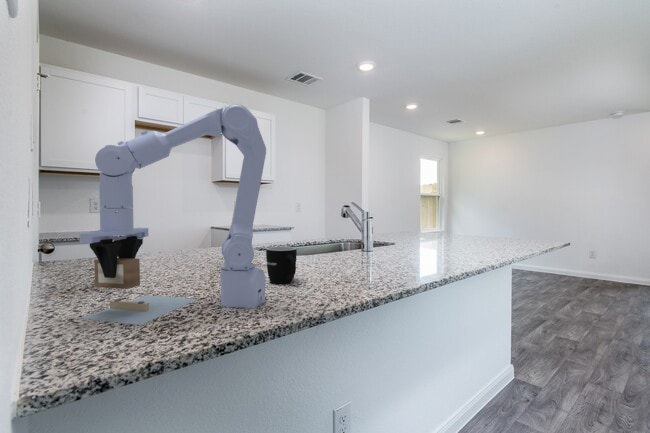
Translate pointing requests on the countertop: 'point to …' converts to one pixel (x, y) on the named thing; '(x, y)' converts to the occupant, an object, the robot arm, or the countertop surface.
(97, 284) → the brown square box
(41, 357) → the countertop surface
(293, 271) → the mug
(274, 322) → the countertop surface
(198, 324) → the countertop surface
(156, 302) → the blue flat mat
